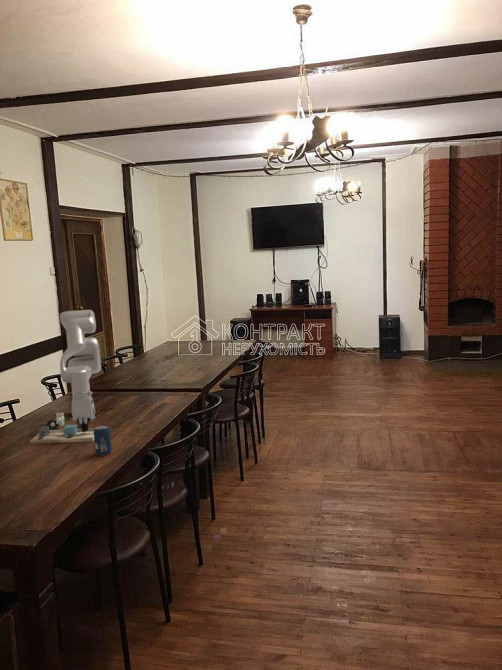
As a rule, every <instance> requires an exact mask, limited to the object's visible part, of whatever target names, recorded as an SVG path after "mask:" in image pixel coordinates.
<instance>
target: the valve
mask: <svg viewBox="0 0 502 670" xmlns="http://www.w3.org/2000/svg"><path fill="white" fill-rule="evenodd" d="M64 414H65V413H64V412H61V411H58V412H56V413H55V419H54V418H50V419H48V420H46V424H45V427H47V426H49V430H59V429H58V428H59V427H64V426H66V425H65V415H64Z"/></svg>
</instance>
